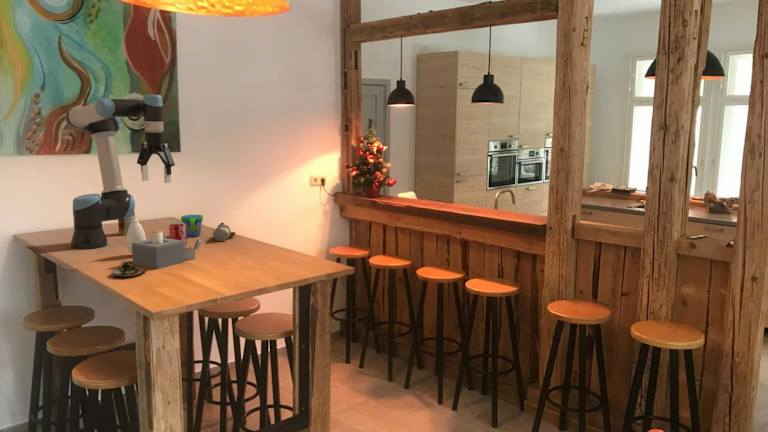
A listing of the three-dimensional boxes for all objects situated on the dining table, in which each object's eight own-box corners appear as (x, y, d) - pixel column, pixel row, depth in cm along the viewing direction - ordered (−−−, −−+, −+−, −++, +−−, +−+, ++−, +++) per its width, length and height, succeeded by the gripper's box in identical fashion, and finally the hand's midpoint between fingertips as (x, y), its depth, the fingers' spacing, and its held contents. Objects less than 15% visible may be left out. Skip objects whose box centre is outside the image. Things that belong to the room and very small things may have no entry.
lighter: (185, 260, 253) (185, 241, 252) (184, 259, 255) (183, 241, 254) (202, 258, 258) (201, 239, 257) (200, 257, 259) (200, 239, 258)
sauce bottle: (142, 252, 266) (140, 212, 264) (149, 255, 261) (147, 214, 258) (124, 255, 261) (121, 214, 258) (131, 258, 256) (129, 216, 253)
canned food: (130, 231, 312) (128, 209, 311) (138, 233, 308) (137, 210, 306) (115, 234, 306) (114, 210, 304) (124, 236, 302) (123, 212, 300)
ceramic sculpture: (208, 224, 289) (215, 220, 304) (208, 242, 290) (215, 237, 305) (230, 224, 290) (236, 221, 305) (230, 242, 291) (236, 238, 306)
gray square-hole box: (132, 264, 245) (131, 242, 243) (160, 257, 257) (159, 237, 256) (157, 269, 238) (156, 246, 237) (184, 262, 251) (183, 240, 249)
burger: (111, 280, 222) (109, 261, 221) (111, 273, 232) (110, 254, 231) (146, 277, 227) (145, 258, 225) (144, 270, 237) (143, 251, 236)
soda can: (181, 253, 266) (180, 224, 264) (166, 252, 267) (165, 223, 265) (190, 250, 273) (189, 221, 270) (175, 249, 274) (174, 221, 272)
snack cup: (183, 233, 311) (182, 213, 310) (204, 232, 314) (204, 213, 312) (180, 239, 296) (179, 218, 295) (202, 238, 298) (201, 218, 297)
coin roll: (151, 261, 247) (149, 232, 245) (158, 259, 250) (157, 230, 248) (158, 262, 245) (156, 233, 243) (165, 260, 248) (164, 231, 247)
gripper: (126, 131, 258) (129, 180, 262) (168, 132, 247) (170, 184, 250) (141, 130, 265) (143, 179, 268) (182, 132, 253) (184, 182, 257)
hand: (156, 181), depth 259 cm, fingers open, 13 cm apart
